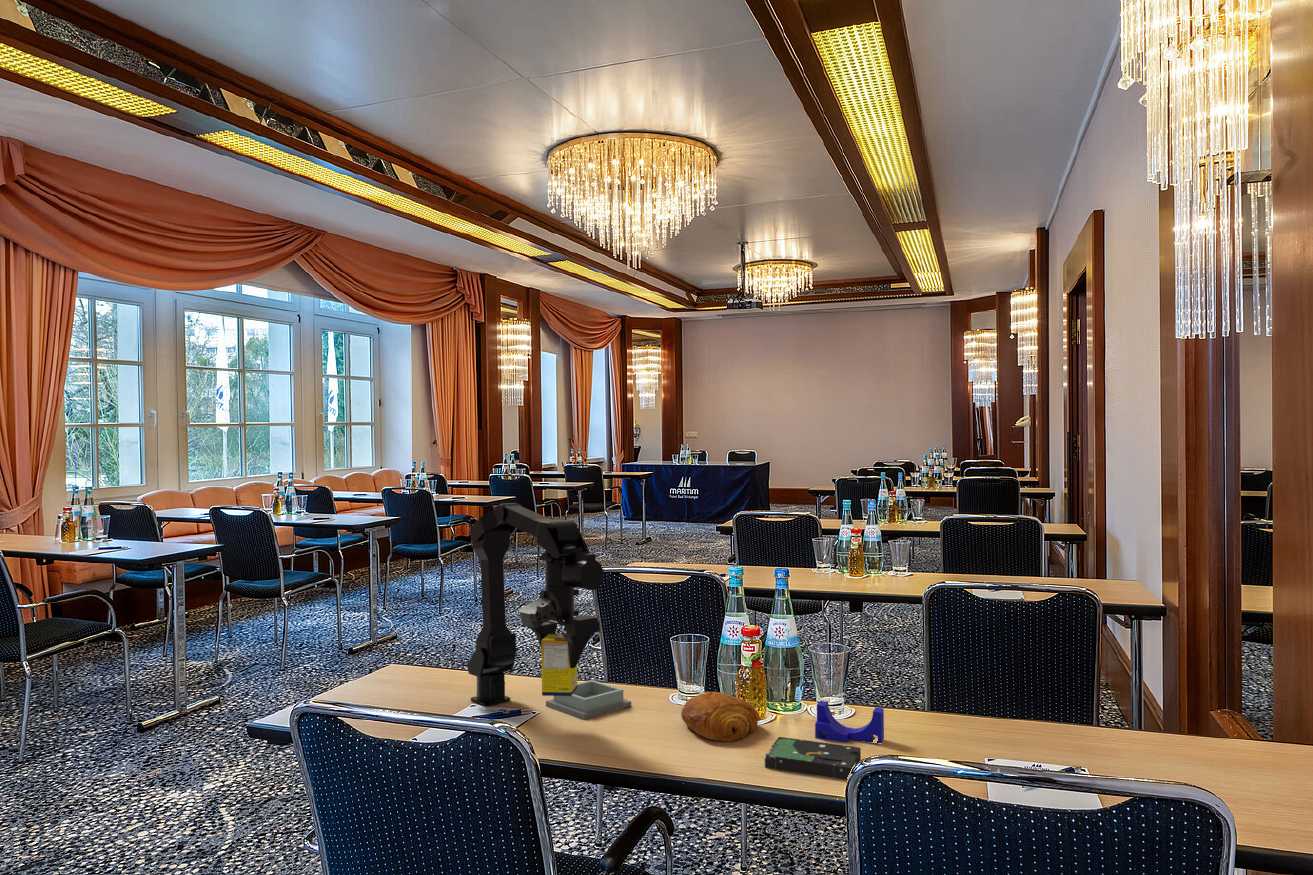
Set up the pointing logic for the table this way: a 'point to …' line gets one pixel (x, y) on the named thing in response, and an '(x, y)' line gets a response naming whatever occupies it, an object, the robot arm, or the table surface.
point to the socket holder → (590, 700)
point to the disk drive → (812, 757)
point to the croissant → (720, 716)
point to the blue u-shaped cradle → (837, 732)
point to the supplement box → (557, 667)
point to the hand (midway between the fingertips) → (559, 663)
